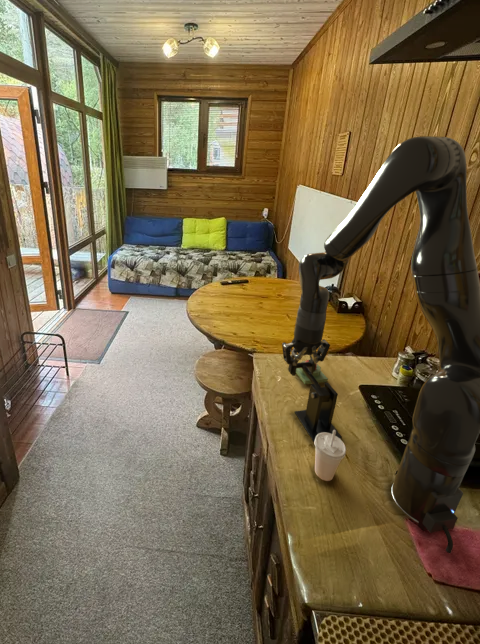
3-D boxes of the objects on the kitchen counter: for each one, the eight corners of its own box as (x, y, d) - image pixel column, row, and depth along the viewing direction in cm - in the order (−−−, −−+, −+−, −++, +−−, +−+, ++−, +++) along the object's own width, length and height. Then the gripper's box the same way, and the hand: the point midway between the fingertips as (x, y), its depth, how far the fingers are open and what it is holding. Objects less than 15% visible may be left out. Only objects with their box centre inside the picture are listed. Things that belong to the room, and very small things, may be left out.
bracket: (293, 414, 88) (300, 377, 83) (319, 411, 89) (327, 375, 85) (312, 444, 78) (320, 404, 74) (340, 440, 80) (350, 401, 75)
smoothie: (311, 487, 68) (322, 439, 63) (305, 460, 74) (314, 415, 69) (342, 491, 67) (354, 443, 62) (333, 464, 73) (344, 418, 68)
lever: (292, 367, 90) (294, 360, 89) (308, 365, 91) (310, 359, 90) (316, 403, 79) (318, 396, 78) (333, 401, 80) (335, 394, 79)
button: (318, 370, 101) (318, 366, 101) (308, 371, 100) (308, 367, 100) (312, 363, 104) (313, 359, 104) (302, 364, 104) (303, 360, 103)
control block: (327, 384, 100) (329, 374, 99) (304, 386, 99) (306, 376, 97) (312, 367, 109) (314, 357, 107) (291, 369, 107) (292, 359, 106)
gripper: (292, 331, 80) (284, 384, 86) (341, 327, 83) (330, 379, 88) (279, 317, 87) (273, 367, 93) (326, 314, 90) (316, 363, 95)
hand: (301, 372), depth 91 cm, fingers closed on lever, 5 cm apart
